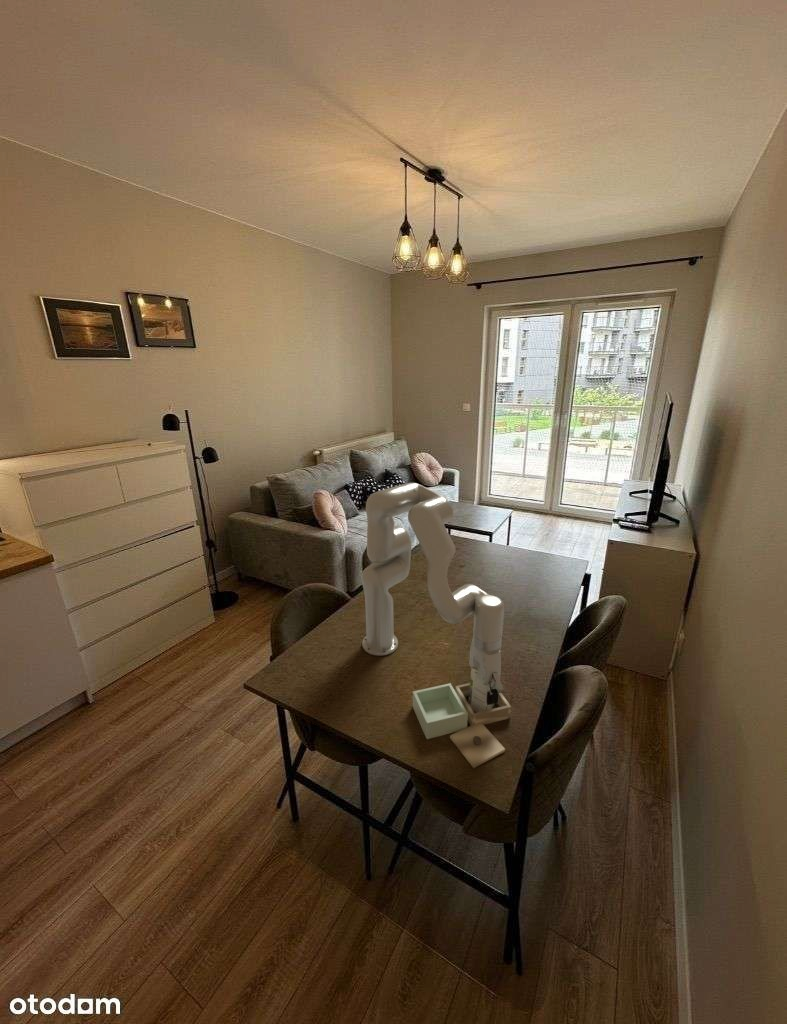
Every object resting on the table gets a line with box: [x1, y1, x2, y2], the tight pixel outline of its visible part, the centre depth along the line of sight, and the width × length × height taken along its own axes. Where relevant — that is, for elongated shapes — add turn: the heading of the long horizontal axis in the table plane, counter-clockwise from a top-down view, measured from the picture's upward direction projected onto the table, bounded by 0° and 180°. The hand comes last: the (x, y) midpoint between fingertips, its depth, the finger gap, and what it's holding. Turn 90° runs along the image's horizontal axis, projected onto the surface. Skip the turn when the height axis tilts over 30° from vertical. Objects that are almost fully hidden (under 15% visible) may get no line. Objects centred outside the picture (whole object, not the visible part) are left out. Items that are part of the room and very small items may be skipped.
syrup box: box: [467, 666, 496, 713], centre depth 118 cm, size 6×6×14 cm
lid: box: [449, 723, 506, 769], centre depth 108 cm, size 10×10×2 cm
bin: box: [412, 682, 468, 740], centre depth 116 cm, size 12×12×6 cm
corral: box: [454, 682, 512, 726], centre depth 119 cm, size 12×12×4 cm
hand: (483, 690), depth 118 cm, fingers open, 9 cm apart
